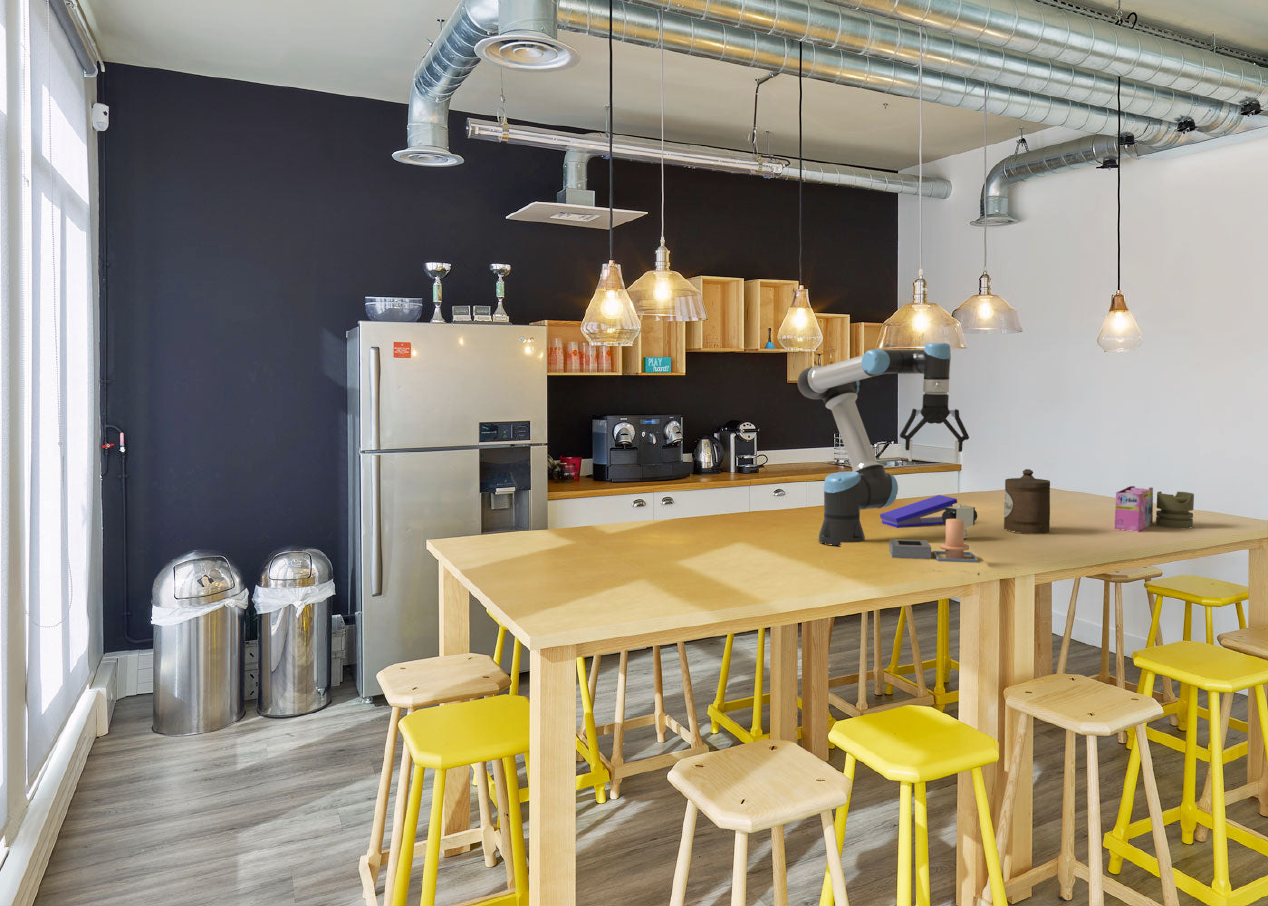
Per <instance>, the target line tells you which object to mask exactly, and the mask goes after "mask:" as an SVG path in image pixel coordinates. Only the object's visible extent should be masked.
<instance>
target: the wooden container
mask: <svg viewBox="0 0 1268 906" xmlns="http://www.w3.org/2000/svg"><path fill="white" fill-rule="evenodd" d="M1033 474H1034V472H1033V470H1031V469H1029V468H1027V469H1025V468H1024V470H1023V471H1022V475H1021V477H1012V478H1010V477H1009V478H1006V479H1005V480H1004V487H1005V489H1004V507H1003V514H1004V515H1003V518H1004V519H1003V529H1004V530H1005V529H1007V530H1010V531H1015V532H1021V533H1020V534H1024V533H1043V534H1047V533H1046V532H1048V533H1050V530H1051V529H1050V528H1051V527H1050V526H1051V525H1050V524H1051V523H1050V522H1051V490H1050V489H1051V481H1050V480H1048V479H1043V478H1035V477H1034V476H1033ZM1010 531H1009V532H1010ZM1015 532H1014V533H1015Z"/></svg>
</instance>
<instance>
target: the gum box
mask: <svg viewBox="0 0 1268 906" xmlns="http://www.w3.org/2000/svg"><path fill="white" fill-rule="evenodd" d="M1153 507H1154V488H1153V486H1151V487H1149V488H1143V487H1142V488H1141V487H1136V486H1135V485H1134V486H1133V485H1132V486H1131V485H1130V486H1127V487H1126V488H1124V489H1121V490H1119V491H1117V492H1115V508H1114V509H1115V511H1114V530H1115V529H1124V530H1133V531H1132V532H1134V531H1139V532H1140V530H1141V531H1142V530H1144V529H1146V528H1147V527H1149V526H1150V525H1152V524H1153V521H1154V520H1153V517H1154V516H1153V513H1154V512H1153V511H1154V508H1153Z"/></svg>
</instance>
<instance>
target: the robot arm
mask: <svg viewBox="0 0 1268 906" xmlns="http://www.w3.org/2000/svg"><path fill="white" fill-rule="evenodd" d="M951 358H952V356H951V345H950V344H949V343H945V342H944V343H943V342H939V343H938V342H935V343H934V342H931V343H929V342H928V343H926V344H925V345H924V349H880V348H876V349H869V350H867V351H866V352H865V353H864V354H861V355H858V356H856V357H852V358H848V359H845V360H842V361H838V362H835V363H832V364H827V365H824V366H821V365H813V366H810V367H807V368H804V369H803V370H802V371H801V372H799V375H798V377H797V383H796V384H797V387H798V388H797V389H798V390H799V392H800V393H801V394H802V396H804V397H805V398H808V399H811V400H823V403H824V405H825V408H826V409H828V410H831V413H832V416H833V418H834V421H835V423H836V426H837V430H838V432H839V435H840V438H841V442H842V445H843V446H844V449H845V452H846V456H847V458H848V461H849V463H850V466H851V469H852V470H851V471H838V472H834V473H830V474H828V475H827V476H826V477H825V479H824V486H823V497H824V499H823V505H824V507H823V511H824V512H823V521H822V524H821V528H820V530H819V533H818V542H819V541H820V542H822V543H826V544H832V545H841V546H842V543H856V542H857V543H859V542H865V541H866V535H865V532H864V530H863V527H862V523H861V520H860V519H861V518H860V515H861V510H870V509H877V510H878V509H881V508H887V507H889V506H891V505H892V504H893V503H894V502H895V500H896V499H897V495H898V492H899V485H898V481H897V478H896V477H895V475H893V474H891V473H890V472H886V470H885V466H884V465H883V464H882V463H880V462H877V459H876V456H875V453H874V451H873V448H872V444H871V441H870V439H869V436H868V433H867V430H866V428H865V426H864V425H865V424H864V422H863V420H862V417H861V415H860V412H859V410H858V407H857V404H856V401H857V399H858V393H859V391H860V387H859V386H860V381H861V380H866V379H868V378H872V377H877V376H881V375H890V374H891V375H894V374H900V375H903V374H904V375H906V374H907V375H910V374H911V375H913V374H915V375H916V374H917V375H918V374H919V375H920V374H923V384H922V385H923V387H922V389H923V390H922V391H923V393H924V394H922V405H921V406H922V408H921V409H917V408H912V409H911V411H910V412H911V413H910V416H909V418H908V420H907V422H906V423H905V425H904V427H903V429H902V430H901V432H900V434H899V437H900V438H901V439H902V440H905V445H904V446H905V447H904V449H905V451H908V462H913V461H912V460H913V440H912V438H913V437H914V436H915V434H916V433H918V431H920V429H921V428H922V427H923V426H924V425H926V424H927V423H928V424H930V425H931V424H932V425H933V424H942V423H943V424H944V426H945V427H946V428H948V430H949V431H950V432H951V433H952V435H953V436H954V437H955V438H956V439H957V440H954V459H953V461H954V463H956V464H958V463H959V453H960V452H961V453H962V452H963V445H964V444H963V442H964V441H967V440H969V439H970V435H969V433H968V432H967V429H966V427H965V425H964V424H963V422H962V419H961V416H960V410H959V409H957V408H955V409H949V398H950V397H949V396H950V395H949V394H947V393H949V392H950V373H951V372H950V370H951V369H950V368H951ZM919 414H920V415H921V416H922V419H921V420H920V421H919V422H918V423H917V424H916V425H915V426H914V427H913V429H912V430H910V432H909V433H908V434H907V432H908V430H909V429H910V427H911V425H912V423H913V422H914V420H915V418H916V417H918V416H919ZM950 414H951V417H953V418H954V420H955V422H956V424H957V427H959V430H960V432H961V434H959V432H958V431H957V430H956V428H954V427H953V425H952V424H951V423H950V422H949V420H948V419H947V418H948V417H949V416H950ZM961 435H962V436H961ZM820 542H819V543H820ZM822 543H821V544H822ZM826 544H825V545H826ZM832 545H831V546H832Z"/></svg>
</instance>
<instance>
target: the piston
mask: <svg viewBox="0 0 1268 906" xmlns="http://www.w3.org/2000/svg"><path fill="white" fill-rule="evenodd" d="M1194 503H1195V493H1192V492H1187V491H1176V494H1175V495H1174V494H1170V493H1169V494H1167V493H1162V491H1157V493H1156V509H1159V510H1156V511H1155V512H1156V513H1155V514H1156V516H1155V526H1157V527H1162V528H1168V529H1169V528H1170V529H1181V528H1185V529H1191V528H1190V527H1192V526H1193V525H1194V513H1193V512H1191V511H1194V506H1195V505H1194ZM1192 528H1193V527H1192Z"/></svg>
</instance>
